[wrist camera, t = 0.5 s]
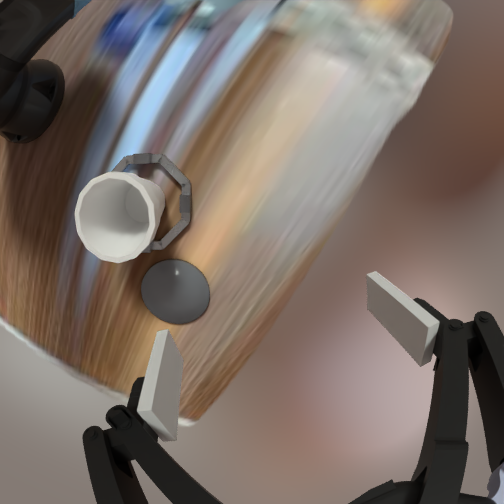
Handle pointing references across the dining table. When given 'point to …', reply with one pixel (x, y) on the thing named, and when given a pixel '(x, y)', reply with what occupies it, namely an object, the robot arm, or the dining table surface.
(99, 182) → the foam cup
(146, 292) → the coaster
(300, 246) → the dining table surface
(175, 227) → the collar
